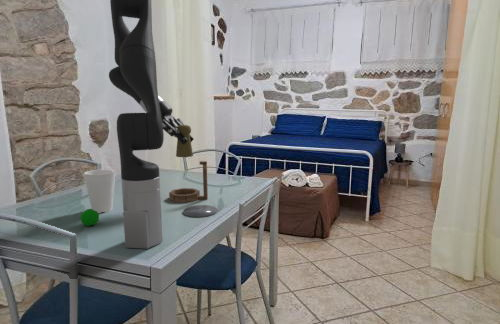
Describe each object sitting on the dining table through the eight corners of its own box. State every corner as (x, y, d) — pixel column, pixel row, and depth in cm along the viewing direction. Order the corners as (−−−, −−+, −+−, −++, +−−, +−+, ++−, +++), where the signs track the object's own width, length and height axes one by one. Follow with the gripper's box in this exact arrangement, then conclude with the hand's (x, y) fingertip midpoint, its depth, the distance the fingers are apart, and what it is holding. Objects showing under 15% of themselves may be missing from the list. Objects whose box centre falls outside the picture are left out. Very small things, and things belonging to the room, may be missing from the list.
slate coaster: (213, 217, 112) (213, 216, 112) (178, 216, 114) (178, 214, 114) (220, 207, 123) (220, 205, 123) (189, 206, 125) (188, 204, 124)
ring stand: (203, 203, 128) (202, 164, 126) (166, 201, 130) (164, 163, 127) (210, 195, 138) (209, 159, 136) (175, 194, 140) (174, 158, 138)
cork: (189, 157, 126) (188, 125, 124) (173, 156, 127) (171, 125, 125) (195, 154, 132) (194, 124, 130) (179, 154, 133) (178, 124, 131)
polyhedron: (78, 225, 107) (77, 209, 106) (95, 221, 110) (94, 206, 109) (85, 229, 103) (83, 213, 102) (102, 225, 106) (101, 209, 106)
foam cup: (88, 207, 123) (85, 170, 121) (117, 204, 127) (114, 168, 124) (86, 216, 115) (83, 176, 112) (117, 212, 118) (114, 173, 116)
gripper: (153, 99, 121) (188, 136, 120) (171, 100, 134) (202, 132, 134) (139, 115, 123) (173, 151, 122) (158, 114, 136) (189, 146, 136)
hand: (188, 141), depth 128 cm, fingers closed on cork, 5 cm apart
